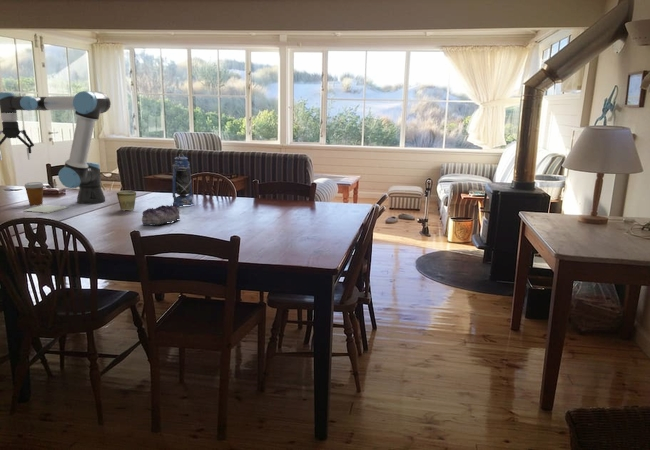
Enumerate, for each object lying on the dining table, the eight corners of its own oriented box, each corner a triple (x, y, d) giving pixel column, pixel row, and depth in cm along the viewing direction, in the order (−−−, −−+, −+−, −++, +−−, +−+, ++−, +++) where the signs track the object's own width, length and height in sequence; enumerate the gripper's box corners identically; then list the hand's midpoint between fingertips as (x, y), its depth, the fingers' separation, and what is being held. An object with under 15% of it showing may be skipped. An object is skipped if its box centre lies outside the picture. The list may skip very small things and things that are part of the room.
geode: (168, 218, 258) (169, 199, 255) (184, 223, 253) (186, 204, 250) (136, 223, 240) (138, 203, 237) (153, 230, 235) (155, 209, 232)
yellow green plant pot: (130, 212, 267) (129, 194, 265) (113, 211, 269) (112, 192, 267) (143, 207, 280) (142, 190, 277) (127, 206, 281) (126, 189, 279)
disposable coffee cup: (39, 206, 275) (37, 184, 273) (22, 205, 275) (20, 184, 273) (49, 203, 285) (47, 182, 282) (32, 202, 285) (30, 181, 282)
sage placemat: (68, 207, 273) (67, 206, 273) (48, 213, 259) (47, 212, 259) (44, 206, 276) (44, 205, 276) (23, 211, 262) (23, 210, 262)
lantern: (181, 208, 282) (179, 155, 275) (165, 205, 287) (163, 153, 280) (200, 204, 295) (198, 153, 288) (184, 201, 301) (182, 152, 294)
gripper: (36, 120, 283) (40, 158, 288) (-16, 121, 273) (-10, 159, 277) (35, 121, 276) (39, 159, 281) (-19, 121, 266) (-13, 161, 271)
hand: (15, 159), depth 279 cm, fingers open, 13 cm apart
